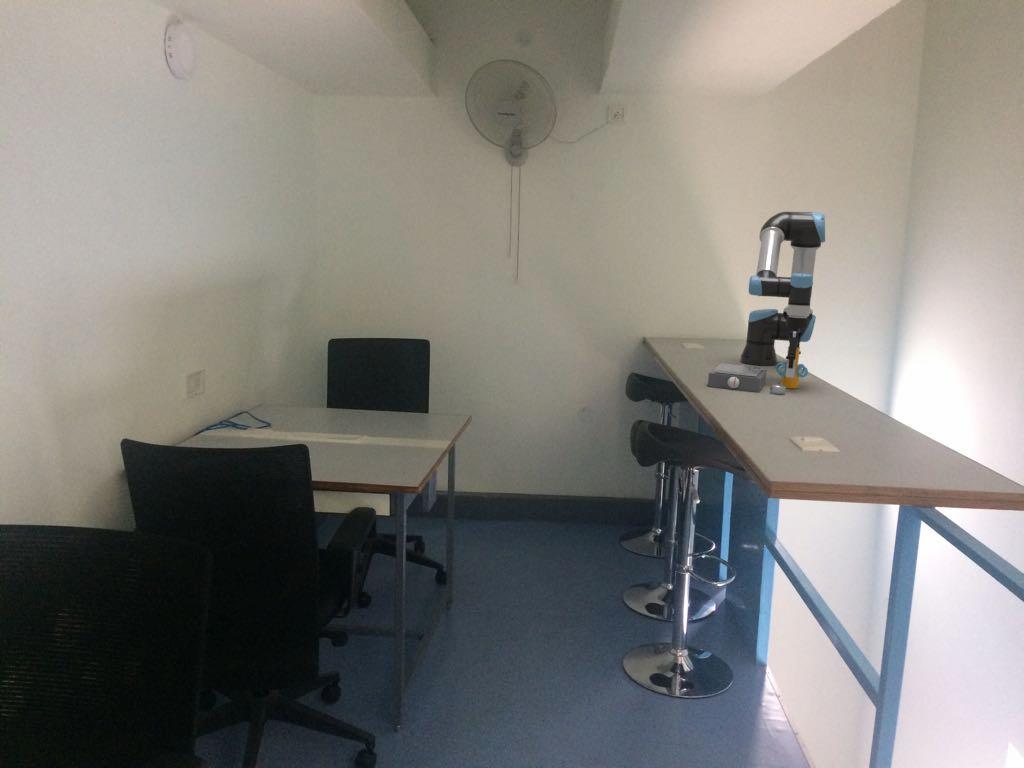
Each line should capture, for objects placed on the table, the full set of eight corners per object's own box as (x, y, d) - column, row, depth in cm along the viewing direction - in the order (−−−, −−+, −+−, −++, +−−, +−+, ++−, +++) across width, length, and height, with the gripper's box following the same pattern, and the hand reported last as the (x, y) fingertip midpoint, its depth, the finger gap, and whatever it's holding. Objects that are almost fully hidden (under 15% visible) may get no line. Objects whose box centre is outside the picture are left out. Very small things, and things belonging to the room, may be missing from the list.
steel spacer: (770, 391, 268) (771, 383, 268) (785, 393, 266) (786, 385, 266) (769, 394, 264) (769, 385, 263) (784, 395, 262) (784, 387, 261)
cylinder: (807, 391, 270) (812, 350, 266) (777, 389, 272) (781, 348, 268) (801, 385, 281) (806, 345, 278) (772, 383, 283) (776, 343, 280)
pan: (719, 375, 287) (721, 363, 286) (760, 380, 281) (762, 367, 280) (712, 382, 274) (714, 369, 272) (755, 387, 267) (756, 373, 266)
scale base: (716, 378, 289) (717, 365, 288) (764, 383, 282) (766, 370, 281) (707, 386, 272) (708, 373, 271) (758, 392, 265) (760, 379, 264)
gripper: (789, 312, 284) (783, 367, 288) (783, 318, 261) (777, 378, 266) (810, 314, 281) (804, 370, 285) (806, 320, 258) (799, 380, 263)
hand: (791, 374), depth 275 cm, fingers open, 13 cm apart
